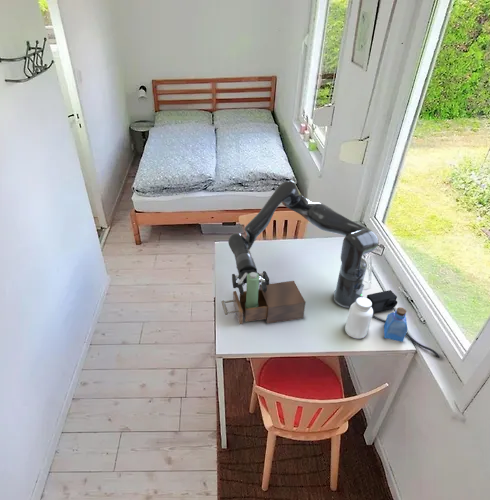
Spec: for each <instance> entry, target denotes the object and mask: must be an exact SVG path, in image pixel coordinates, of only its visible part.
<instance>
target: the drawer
mask: <svg viewBox="0 0 490 500" xmlns="http://www.w3.org/2000/svg"><path fill="white" fill-rule="evenodd" d="M246 291H247V290H245V291H244V295H242V294H240V293H239V295H238V293H237V292H238V291H237V290H233V291H232V295H233V296H232V299H231V300H224V299H223V300H221V306H222V309H223V312H224V315H225V316H228V315H229V314H236V318H237V321H238V324H239V325H243V324H244V321H245V323H246V322H254V321H261V320H266V319H267V312H268V307H267V304H266V302H265V299H264V297H263V295H262V292H261V290H260V289H259V292H258V307H255V308H247V309H245V303H246ZM229 303H232V304H233V305H232V306H233V308H234V310H230V311H228V306H227V304H229Z"/></svg>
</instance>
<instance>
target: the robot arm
mask: <svg viewBox="0 0 490 500" xmlns="http://www.w3.org/2000/svg"><path fill="white" fill-rule="evenodd" d="M281 204H282V205H283V206H284V207H285V208H287V209H289V210H290V211H293V212H295V213H296V214H299V216H301V217H303V218H304V219H305V220H306V221H307V222H309V223H310V224H312V225H313V226H315V227H316V228H318V229H319V230H321V231H323V232H327V233H332V234H336V235H339V236H340V235H341V236H344V237H343V240H342V246H341V251H340V252H341V253H340V263H341V264H340V269H339V272H338V278H337V282H336V286H335V290H334V295H333V301H334V303H335V304H336V305H338V306H339V307H342V308H345V309H350V306H351V305H352V304H353V303H355V302H356V299H357V298H359V297H363V291H364V287H365V284H363V283H364V279H365V275H366V272H367V268H368V262H367V261H366V260H365V258H363V256H365V255H367V254H370V253H372V252H374V251H375V250H376V249H378V247H379V244H380V242H379V238H378V236H377V234H376V233H375V232H374V231H373V230H371V229H370V228H368V227H366V226H364V225H362V224H359V223H357V222H355V221H353V220H351V219H349V218H348V217H346V216H344V215H342V214H341V213H339V212H337V211H335V210H334V209H333V208H331V207H329V206H327V205H326V204H324V203H322V202H313V201H310V200H309V199H308V198H306V197H305V196H304V195H303V194H302V193H301V191H300V190H299V188H298V186H297V184H296V183H295V182H294V181H292V180H287V181H286V180H285V181H284V182H282V183H281V184H279V186H277V188H276V189H275V190H274V192H273V193H272V194H271V196H269V199H268V200H267V201H266V202H265V204H264V206H262V208H261V209H260V210H259V212H258V213H257V214H256V215H255V216H254V217H253V218H252V219H251V220H250V221H249V222H248V223H247V224H246V225H245V226H244V231H245V233H246V236H245V237H244V235H242V234H241V233H240V232H234V233H231V234H230V236H229V237H228V240H227V242H228V246H229V249H230V251H231V252H232V254H233V256H234V260H235V266H236V269H237V272H238V274H237V275H236V274H235V273H232V274H231V282H232V288H234V289H238V292H239V295H240V294H242V295H244V286H245V285H247V275H248V274H249V273H251V272H255V273H257V274H258V275H259V285H261V286H262V289H263V292H264V293H266V291H267V286H266V285H269V284H270V277H269V276H268V273H267V271H266V270H263V271H262V272H259V271H258V269H257V266H256V263H255V260H254V258H253V256H252V253H251V251H250V250H251V249H252V246H253V245H254V243H255V241H256V240H257V238H258V237H259V236H260V235H261V234H262V233H263V232H264V230H266V228H267V227H268V226H269V224H270V222H271V220H272V219H273V216H274V213H275V211H276V210H277V208H278V207H279V206H280V205H281ZM238 279H239V281H238ZM237 281H238V282H237ZM372 319H375V320H377V321H379V322H382V323H385V321H386V319H382V318H380V317H377V316H375V315H374V314H373V316H372ZM405 337H407V338H408V339H409V340H411V341H412V342H413V343H415V345H417V346H419V347H420V348H423V349H425V350H428V351H430V352H432V353H433V354H434V355H435V356H436V358H438V359H440V358H441V357H440V355H439V354H438V352H437V351H436V350H434V348H431V347H429V346H426V345H423V344H421V343H420V342H418V341H417V340H416V339H414V338H413V337H412V336H411V335H410V334H409V333H408V332H406V335H405Z"/></svg>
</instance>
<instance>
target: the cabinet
mask: <svg viewBox="0 0 490 500" xmlns="http://www.w3.org/2000/svg"><path fill="white" fill-rule="evenodd" d="M266 286H267V291H266V293H264V292H263V289H262V286H261V285H259V289H260V290H261V292H262V295H263V297H264V299H265V302H266V304H267V307H268V312H267V319H265V321H266V324H272V323H280V322H281V323H282V322H288V321H294V320H302V319H304V316H305V308H306V301H305V298H304V297H303V295H302V293H301V292H300V289H299V287H298V286H297V283H296V282H295V280H289V281H281V282H274V283H269V285H266Z"/></svg>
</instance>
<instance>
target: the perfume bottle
mask: <svg viewBox="0 0 490 500" xmlns="http://www.w3.org/2000/svg"><path fill="white" fill-rule="evenodd" d="M406 316H407V309H406V308H404V307H397V308H396V310H395V311H393V312H391V313H388V314H387V316H386V319H385V322H384V325H383V336H384V337H383V338H384V339H386V340H392V341H396V342H402V343H403V342H404V340H405V337H406V333H408V322H407V317H406Z"/></svg>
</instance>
